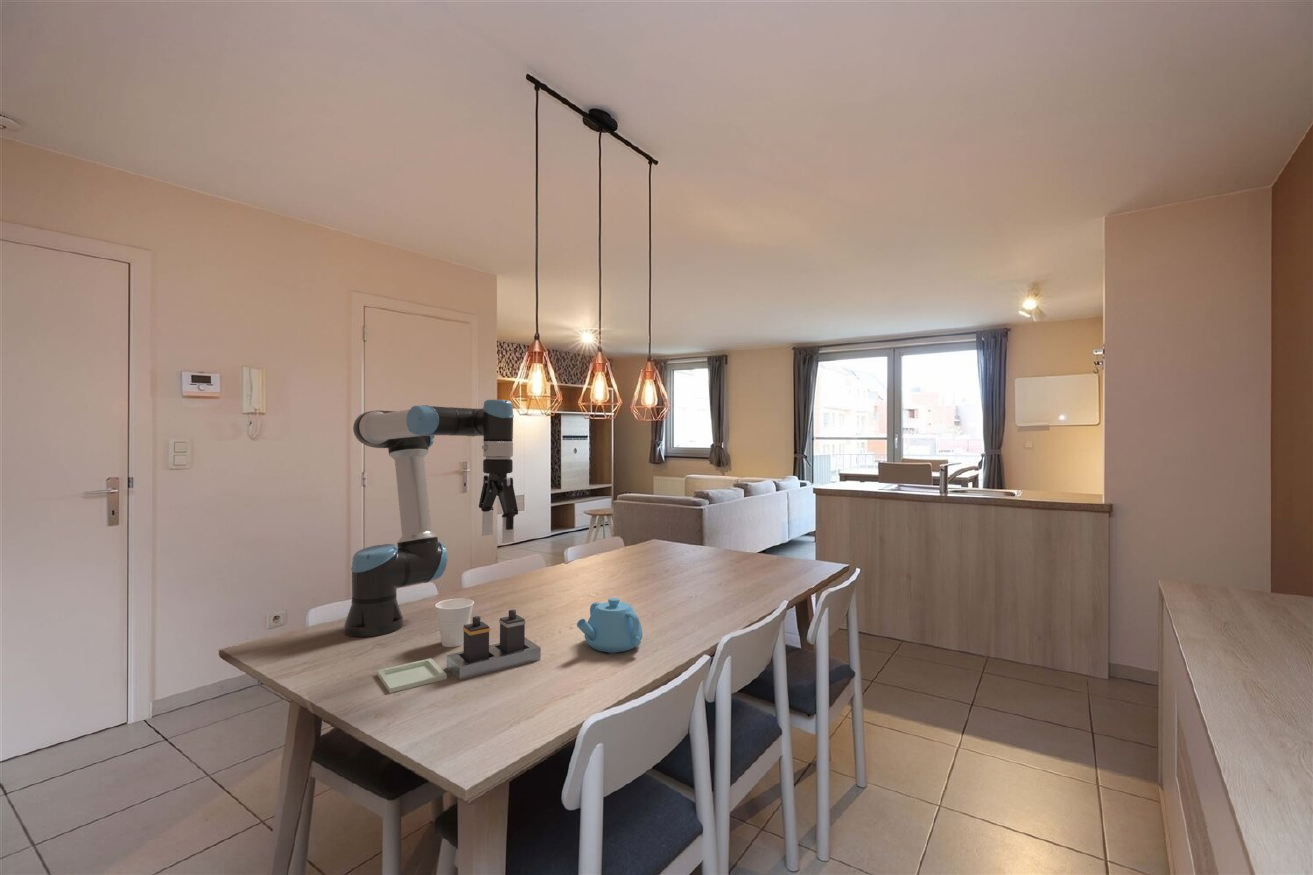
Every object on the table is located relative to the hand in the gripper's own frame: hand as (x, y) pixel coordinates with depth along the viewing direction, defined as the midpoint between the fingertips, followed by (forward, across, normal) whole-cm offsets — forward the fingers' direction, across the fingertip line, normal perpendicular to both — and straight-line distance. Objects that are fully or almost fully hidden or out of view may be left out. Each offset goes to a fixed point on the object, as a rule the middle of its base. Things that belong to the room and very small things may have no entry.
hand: (497, 538), depth 149 cm
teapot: (+29, +18, +23) cm, 41 cm away
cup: (+29, -9, -8) cm, 31 cm away
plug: (+28, +11, -10) cm, 32 cm away
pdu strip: (+29, +11, -5) cm, 31 cm away
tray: (+29, +7, -23) cm, 37 cm away
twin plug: (+28, +11, 0) cm, 30 cm away
